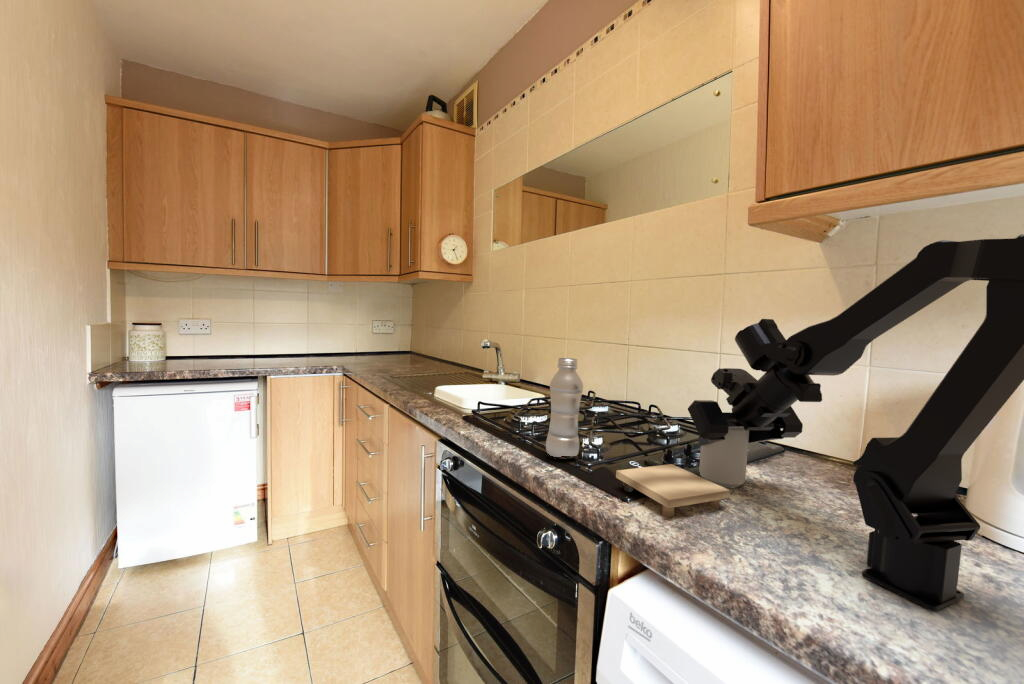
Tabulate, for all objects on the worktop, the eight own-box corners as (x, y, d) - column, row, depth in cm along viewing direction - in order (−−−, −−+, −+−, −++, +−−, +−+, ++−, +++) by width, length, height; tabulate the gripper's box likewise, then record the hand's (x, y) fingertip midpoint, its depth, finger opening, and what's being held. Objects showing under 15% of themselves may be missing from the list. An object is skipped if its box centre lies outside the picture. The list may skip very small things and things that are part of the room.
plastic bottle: (541, 453, 88) (546, 356, 87) (572, 452, 90) (578, 357, 88) (549, 463, 82) (555, 359, 81) (583, 463, 83) (589, 361, 82)
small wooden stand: (728, 509, 65) (729, 490, 65) (667, 520, 61) (669, 499, 60) (670, 480, 76) (671, 464, 76) (615, 488, 72) (616, 470, 71)
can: (696, 483, 76) (701, 416, 75) (700, 470, 82) (704, 409, 82) (745, 493, 72) (750, 423, 71) (744, 479, 79) (749, 415, 78)
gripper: (794, 356, 74) (742, 405, 85) (699, 352, 70) (657, 405, 81) (833, 411, 67) (770, 457, 78) (729, 411, 63) (679, 459, 74)
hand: (718, 442), depth 78 cm, fingers closed on can, 7 cm apart
